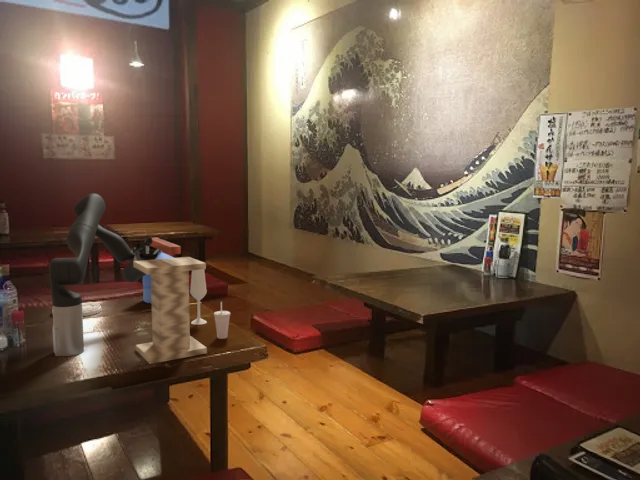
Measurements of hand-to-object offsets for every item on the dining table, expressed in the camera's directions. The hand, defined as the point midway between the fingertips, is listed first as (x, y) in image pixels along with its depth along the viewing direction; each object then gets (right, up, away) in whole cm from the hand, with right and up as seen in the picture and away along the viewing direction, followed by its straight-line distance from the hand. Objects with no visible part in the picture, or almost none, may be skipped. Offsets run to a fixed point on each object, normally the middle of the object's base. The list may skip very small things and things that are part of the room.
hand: (156, 238), depth 193 cm
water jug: (-19, -30, +67) cm, 76 cm away
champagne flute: (+9, -35, +30) cm, 48 cm away
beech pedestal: (+7, -40, -6) cm, 41 cm away
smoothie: (+22, -38, +11) cm, 45 cm away
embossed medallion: (-49, -33, +43) cm, 73 cm away
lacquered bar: (+4, -4, -6) cm, 8 cm away
